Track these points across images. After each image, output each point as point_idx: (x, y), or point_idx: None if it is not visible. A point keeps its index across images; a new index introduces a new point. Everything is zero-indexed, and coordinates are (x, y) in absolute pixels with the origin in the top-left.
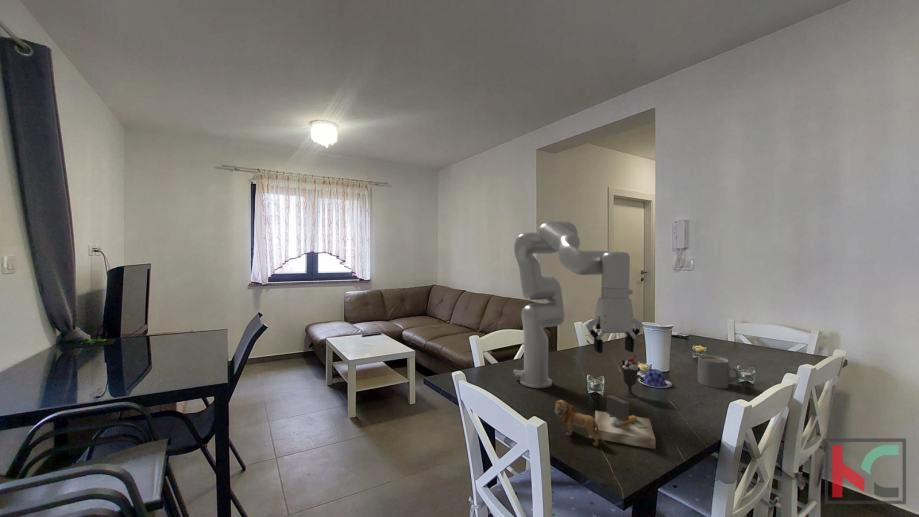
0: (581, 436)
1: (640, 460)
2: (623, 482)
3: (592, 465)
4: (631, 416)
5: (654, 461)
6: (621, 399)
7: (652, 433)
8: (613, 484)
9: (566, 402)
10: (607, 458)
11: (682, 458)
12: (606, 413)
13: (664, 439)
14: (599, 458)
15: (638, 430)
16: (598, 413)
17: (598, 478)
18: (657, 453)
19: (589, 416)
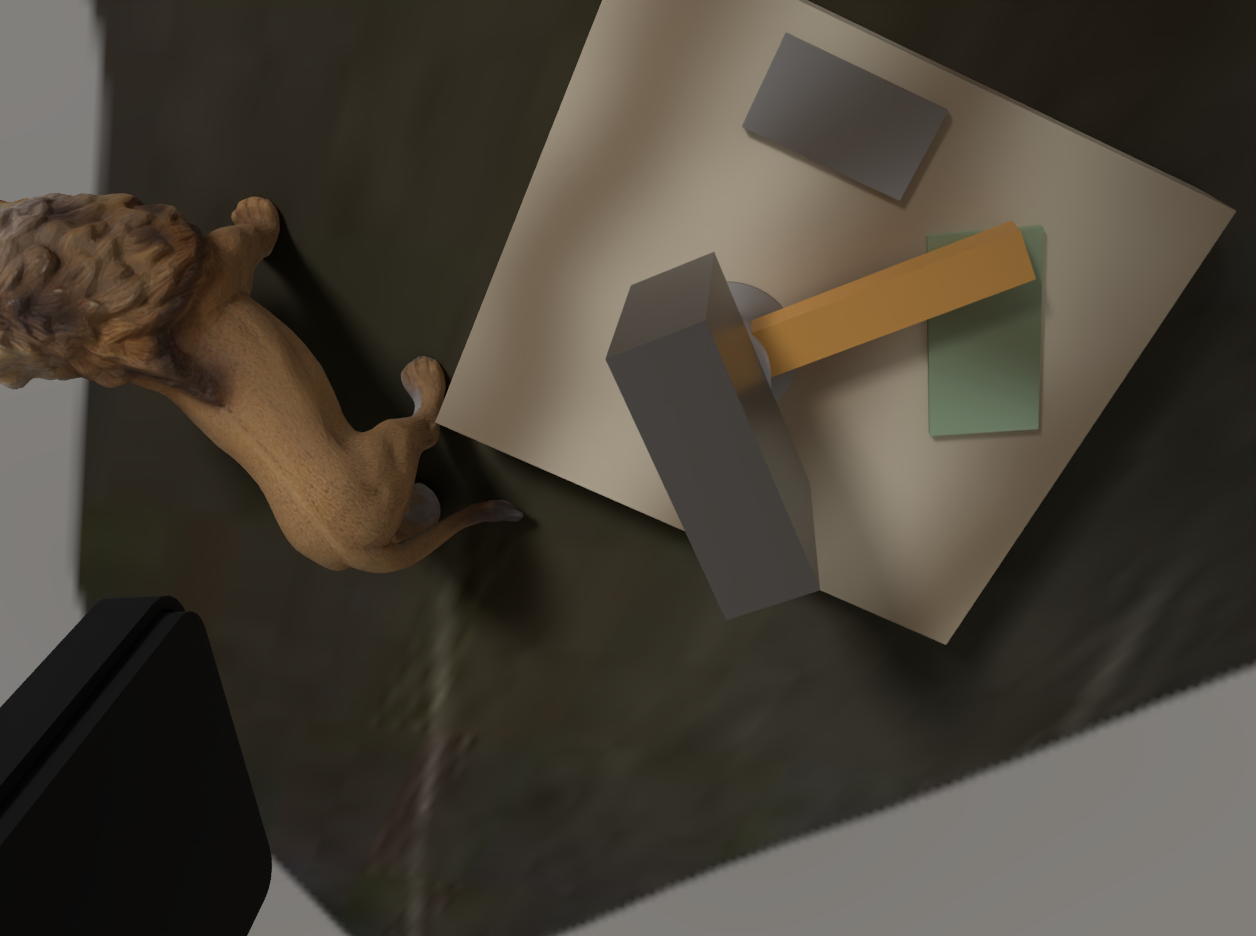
0: (340, 340)
1: (698, 722)
2: (448, 905)
3: (306, 740)
4: (968, 272)
5: (802, 743)
6: (769, 493)
7: (1001, 543)
8: (377, 913)
9: (37, 337)
10: (450, 677)
11: (1063, 731)
12: (748, 27)
13: (1156, 453)
14: (387, 671)
15: (894, 475)
16: (638, 22)
17: (303, 858)
18: (905, 653)
19: (315, 526)
